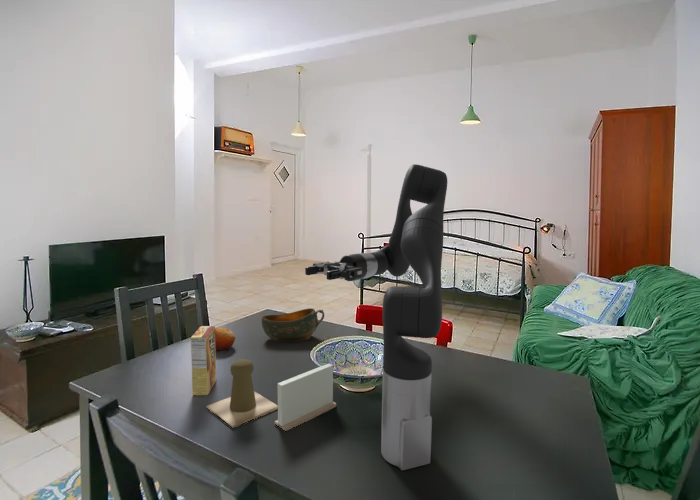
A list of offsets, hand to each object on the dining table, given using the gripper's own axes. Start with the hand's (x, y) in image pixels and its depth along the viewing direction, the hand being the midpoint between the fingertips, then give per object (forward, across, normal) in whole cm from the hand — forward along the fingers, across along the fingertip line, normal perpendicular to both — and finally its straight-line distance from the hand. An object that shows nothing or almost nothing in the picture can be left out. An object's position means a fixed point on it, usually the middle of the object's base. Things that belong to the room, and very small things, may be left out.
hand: (316, 273), depth 105 cm
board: (+21, -2, +30) cm, 37 cm away
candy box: (+23, -18, +30) cm, 42 cm away
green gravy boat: (-17, -32, +30) cm, 47 cm away
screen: (+12, +11, +30) cm, 34 cm away
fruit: (+6, -40, +30) cm, 51 cm away
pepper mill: (+21, -2, +30) cm, 36 cm away
